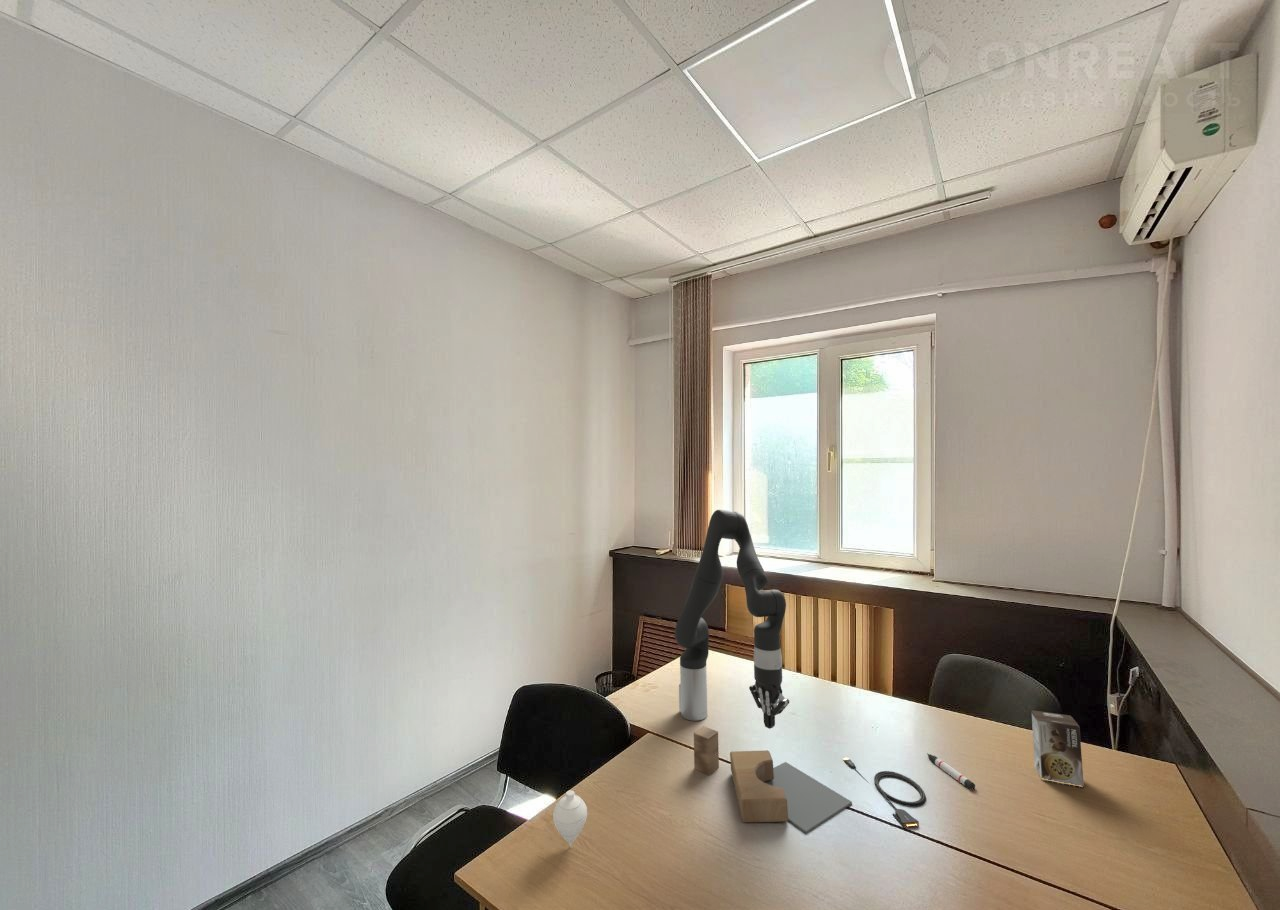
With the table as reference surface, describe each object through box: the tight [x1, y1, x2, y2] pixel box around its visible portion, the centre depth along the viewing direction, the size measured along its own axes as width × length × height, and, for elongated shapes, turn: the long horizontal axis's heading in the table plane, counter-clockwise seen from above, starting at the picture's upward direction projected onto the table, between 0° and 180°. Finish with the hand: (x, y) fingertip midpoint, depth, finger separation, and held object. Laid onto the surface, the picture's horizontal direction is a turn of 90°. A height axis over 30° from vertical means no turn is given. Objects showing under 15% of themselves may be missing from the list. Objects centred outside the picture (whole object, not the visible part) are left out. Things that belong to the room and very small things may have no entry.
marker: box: [926, 752, 976, 790], centre depth 135 cm, size 15×2×2 cm, turn 11°
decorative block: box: [729, 750, 789, 823], centre depth 126 cm, size 11×6×20 cm
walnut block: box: [693, 725, 720, 776], centre depth 139 cm, size 5×5×10 cm
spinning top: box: [552, 789, 588, 848], centre depth 110 cm, size 8×8×12 cm
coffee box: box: [1030, 709, 1085, 787], centre depth 132 cm, size 9×6×16 cm
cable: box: [842, 757, 927, 830], centre depth 129 cm, size 14×28×2 cm, turn 6°
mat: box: [764, 761, 853, 834], centre depth 127 cm, size 21×18×1 cm
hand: (769, 726), depth 134 cm, fingers closed
